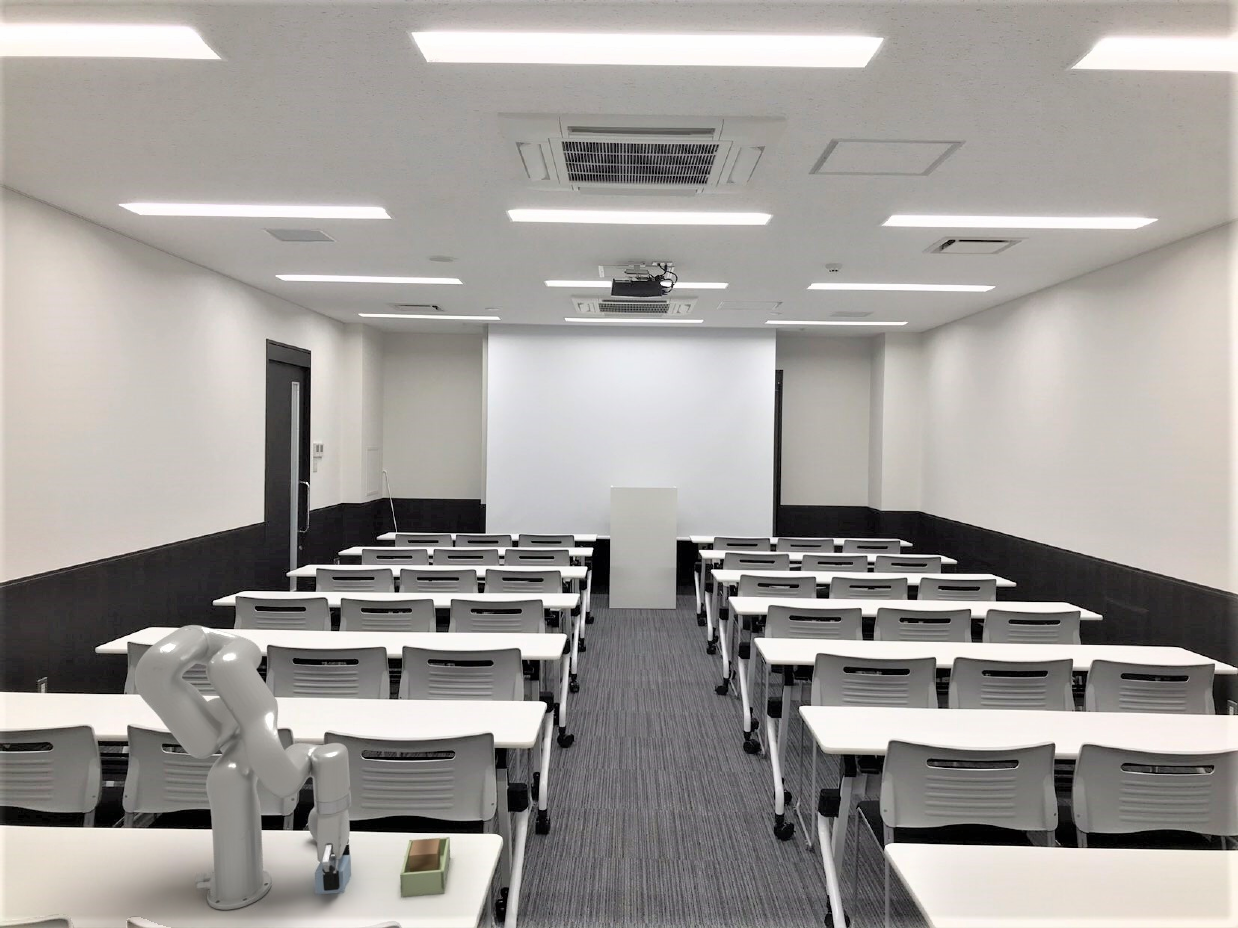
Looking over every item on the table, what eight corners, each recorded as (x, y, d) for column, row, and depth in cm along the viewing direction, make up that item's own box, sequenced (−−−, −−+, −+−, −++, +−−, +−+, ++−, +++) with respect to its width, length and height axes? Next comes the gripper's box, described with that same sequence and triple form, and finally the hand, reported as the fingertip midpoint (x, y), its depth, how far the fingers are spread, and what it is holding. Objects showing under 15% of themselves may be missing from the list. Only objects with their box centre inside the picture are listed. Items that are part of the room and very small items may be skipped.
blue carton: (315, 894, 163) (314, 872, 162) (324, 877, 169) (323, 856, 168) (343, 892, 163) (342, 871, 163) (351, 875, 169) (350, 854, 169)
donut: (305, 842, 182) (304, 803, 181) (317, 835, 185) (315, 796, 184) (334, 853, 177) (332, 813, 177) (345, 846, 181) (344, 806, 180)
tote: (400, 896, 162) (400, 874, 161) (410, 860, 175) (409, 839, 174) (444, 892, 163) (443, 871, 162) (450, 857, 176) (449, 836, 176)
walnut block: (409, 881, 165) (409, 855, 165) (413, 864, 171) (413, 839, 171) (437, 879, 166) (436, 853, 166) (440, 862, 172) (439, 837, 172)
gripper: (325, 783, 173) (329, 854, 174) (303, 824, 156) (308, 902, 157) (358, 780, 174) (363, 850, 175) (340, 821, 157) (345, 898, 158)
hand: (337, 875), depth 166 cm, fingers open, 9 cm apart
